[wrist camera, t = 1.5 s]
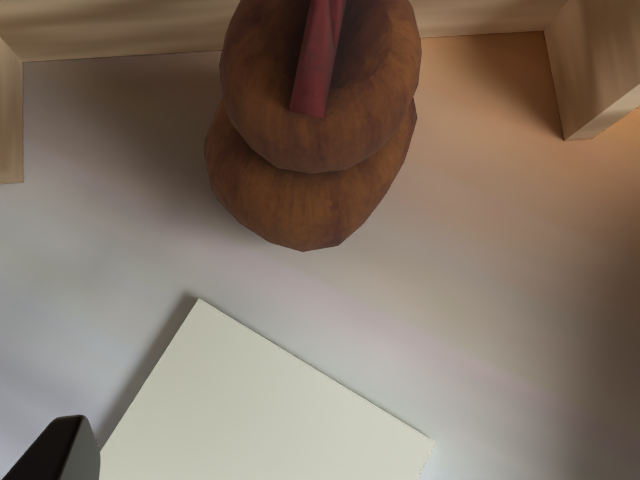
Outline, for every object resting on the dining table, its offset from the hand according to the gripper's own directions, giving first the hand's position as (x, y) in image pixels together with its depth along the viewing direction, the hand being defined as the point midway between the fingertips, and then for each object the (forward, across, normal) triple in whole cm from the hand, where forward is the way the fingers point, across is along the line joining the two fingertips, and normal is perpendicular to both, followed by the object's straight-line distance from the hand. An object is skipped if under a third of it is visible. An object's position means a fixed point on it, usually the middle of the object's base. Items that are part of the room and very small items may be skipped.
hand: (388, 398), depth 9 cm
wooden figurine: (+14, 0, +4) cm, 15 cm away
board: (+6, +3, +12) cm, 14 cm away
